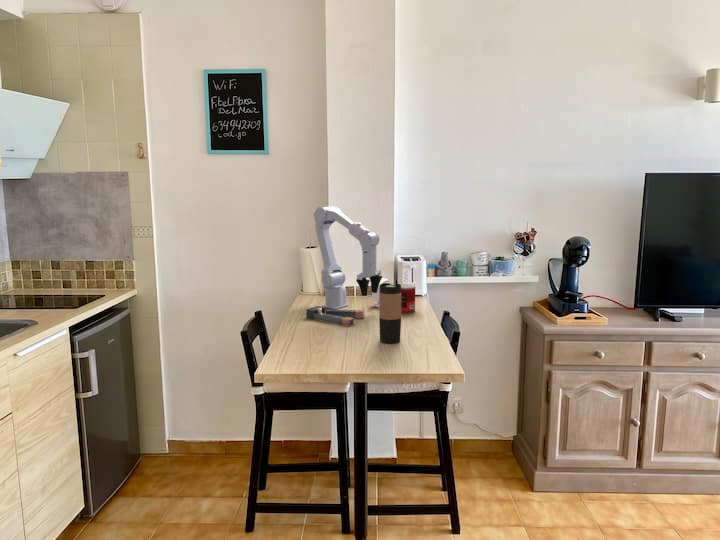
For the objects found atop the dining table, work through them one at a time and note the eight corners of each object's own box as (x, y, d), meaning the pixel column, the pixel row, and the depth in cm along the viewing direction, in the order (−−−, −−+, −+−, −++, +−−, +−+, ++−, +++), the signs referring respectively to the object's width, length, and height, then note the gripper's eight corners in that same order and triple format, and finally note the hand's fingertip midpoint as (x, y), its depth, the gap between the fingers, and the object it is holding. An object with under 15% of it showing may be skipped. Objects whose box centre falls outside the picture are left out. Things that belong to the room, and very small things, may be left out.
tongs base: (306, 317, 227) (305, 308, 227) (317, 314, 233) (317, 305, 232) (349, 326, 215) (348, 316, 214) (359, 322, 220) (359, 313, 220)
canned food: (415, 309, 242) (415, 284, 240) (415, 313, 234) (415, 287, 232) (397, 308, 243) (397, 283, 241) (396, 313, 235) (397, 287, 233)
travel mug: (386, 345, 191) (386, 288, 188) (375, 339, 198) (375, 284, 194) (405, 342, 194) (405, 285, 191) (393, 336, 201) (394, 282, 198)
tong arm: (325, 317, 228) (325, 310, 228) (326, 315, 231) (326, 308, 231) (363, 317, 226) (363, 311, 226) (364, 315, 229) (364, 309, 229)
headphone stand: (388, 306, 247) (388, 279, 245) (377, 308, 244) (377, 281, 242) (383, 304, 251) (383, 278, 249) (371, 305, 248) (371, 279, 246)
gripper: (367, 265, 222) (367, 298, 224) (387, 260, 233) (387, 292, 236) (352, 263, 226) (353, 296, 228) (373, 259, 238) (373, 290, 240)
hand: (369, 294), depth 232 cm, fingers open, 7 cm apart
